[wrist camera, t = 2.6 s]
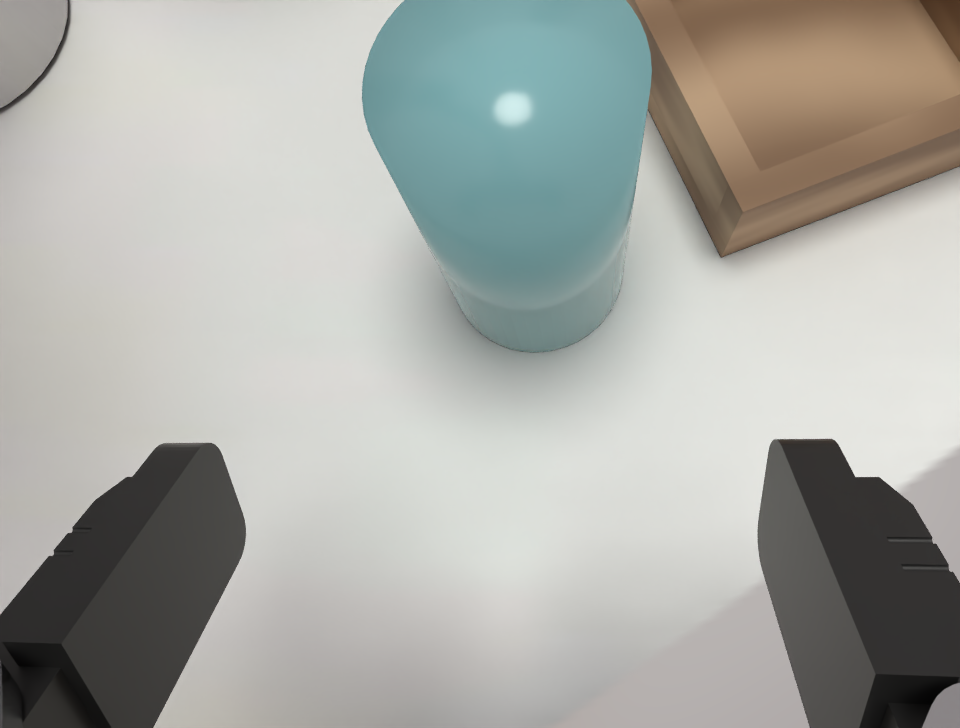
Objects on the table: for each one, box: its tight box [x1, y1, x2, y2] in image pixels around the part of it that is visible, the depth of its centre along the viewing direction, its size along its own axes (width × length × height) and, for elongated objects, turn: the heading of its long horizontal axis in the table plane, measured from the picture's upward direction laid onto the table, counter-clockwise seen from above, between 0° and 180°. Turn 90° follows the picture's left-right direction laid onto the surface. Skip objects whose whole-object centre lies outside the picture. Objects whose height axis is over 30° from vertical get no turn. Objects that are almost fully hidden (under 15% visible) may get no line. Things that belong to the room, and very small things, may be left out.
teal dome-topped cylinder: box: [362, 0, 652, 352], centre depth 20 cm, size 6×6×11 cm
